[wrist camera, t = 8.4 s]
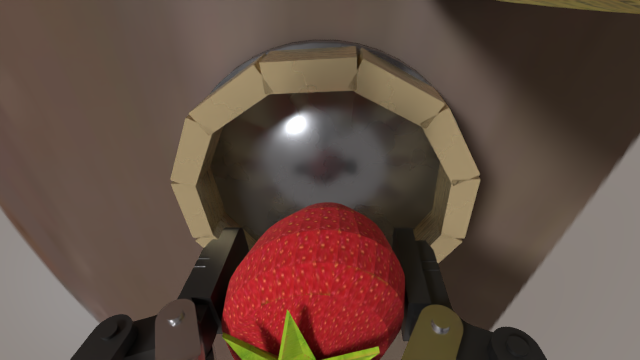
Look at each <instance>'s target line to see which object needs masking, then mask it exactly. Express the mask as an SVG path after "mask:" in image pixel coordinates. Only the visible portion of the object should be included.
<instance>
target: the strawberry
mask: <svg viewBox="0 0 640 360" xmlns="http://www.w3.org/2000/svg"><path fill="white" fill-rule="evenodd" d="M404 304H405V274H404V272H403V269H402V267H401V265H400V262H399V260H398V259H397V257H396V255H395V253H394V252H393V250H392V248H391V246H390V244H389V243H388V241H387V239H386V237H385V236H384V234H383V232H382V231H381V230H380V228H379V227H378V226H377V225H376V223H374V222H373V221H371V220H370V219H369V218H367V217H366V216H364V215H362V214H361V213H359V212H357V211H355V210H353V209H351V208H349V207H347V206H345V205H342V204H339V203H334V202H323V203H317V204H313V205H310V206H307V207H305V208H303V209H301V210H299V211H297V212H295V213H293V214H291V215H289V216H288V217H286V218H284V219H282V220H280V221H278V222H277V223H275V224H274V225H273V226H271V227H270V228H269V229H268V230H267V231H266V232H265V233H264V234H263V235H262V236H261V237H260V238H259V240H258V241H257V242H256V243H255V245H254V246H253V247H252V249H251V250H250V251H249V253H248V254H247V255H246V256H245V258H244V259H243V260H242V262H241V263H240V264H239V266H238V267H237V268H236V270H235V272H234V274H233V275H232V277H231V279H230V281H229V285H228V288H227V292H226V298H225V303H224V308H223V314H222V332H223V336H222V337H223V338H224V340H225V341H226V343H227V345H228V348H229V350H230V352H231V354H232V356H233V358H234V359H235V360H379V359H380V358H381V357H382V356H383V355H384V353H385V352H386V351H387V349H388V348H389V346H390V345H391V344H392V342H393V341H394V339H395V338H396V336H397V334H398V333H399V331H400V329H401V326H402V322H403V319H404Z"/></svg>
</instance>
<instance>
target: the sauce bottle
mask: <svg viewBox="0 0 640 360" xmlns="http://www.w3.org/2000/svg"><path fill="white" fill-rule="evenodd" d="M498 1H505V2H513V3H523V4H533V5H542V6H551V7H561V8H572V9H584V10H595V11H607V12H621V13H634V14H640V0H498Z"/></svg>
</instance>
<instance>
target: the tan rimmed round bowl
mask: <svg viewBox="0 0 640 360" xmlns="http://www.w3.org/2000/svg"><path fill="white" fill-rule="evenodd" d="M478 175H480V173H479V171H478V169H477V167H476V164H475V162H474V160H473V158H472V156H471V154H470V151H469V149H468V147H467V145H466V143H465V141H464V138H463V136H462V134H461V132H460V130H459V127H458V124H457V122H456V120H455V118H454V116H453V114H452V113H451V110H450V108H449V107H448V105H447V104H446V103H445V101H444V100H443V99H442V97H441V96H440V95H439V93H438V92H437V91H436V90H435V89H434V87H433V86H432V85H431V84H430V83H429V82H428V81H427V80H426V79H425V78H424V77H423V76H421V75H420V74H419V73H418V72H417V71H416V70H414V69H413V68H411V67H410V66H408V65H407V64H405V63H404V62H402V61H401V60H399V59H398V58H396V57H393V56H391V55H389V54H387V53H385V52H383V51H381V50H378V49H375V48H372V47H368V46H365V45H362V44H358V43H352V42H346V41H339V40H308V41H301V42H293V43H289V44H286V45H282V46H278V47H275V48H272V49H269V50H267V51H265V52H263V53H260V54H258V55H256V56H254V57H252V58H251V59H249V60H247V61H246V62H244V63H243V64H241V65H240V66H238V67H237V68H236V69H234V70H233V71H232V72H231V73H230V74H229V75H228V76H227V77H226V78H224V79H223V80H222V81H221V82H220V83H219V84H218V85H217V86H216V87H215V88H214V90H213V91H212V92H211V93H210V95H209V96H207V97H206V98H205V99H204V100H203V101H202V102H201V103H200V104H198V105H197V106H196V107H195V108H194V109H193V110H192V111H191V112H190V113H189V115H188V116H187V117H186V119H185V123H184V127H183V131H182V135H181V139H180V143H179V147H178V151H177V155H176V159H175V163H174V167H173V171H172V175H171V179H170V180H172V181H173V182H172V183H171V186H172V188H173V191H174V193H175V195H176V198H177V200H178V203H179V205H180V208H181V210H182V212H183V215H184V217H185V220H186V222H187V225H188V227H189V229H190V232H191V234H192V237H197V238H196V240H195V241H196V242H197V243H199V244H200V245H201V246H202V247H203V248H204V247H205V246H206V245H207V244H208V243H209V242H210V241H211V240H212V239H219V237H220V235H221V233H222V231H223V229H224V228H226V227H241V228H243V230H244V233H245V237H246V240H247V244H248V247H249V251H250V250H251V249H252V247H253V246H254V245H255V243H256V242H257V241H258V240H259V238H260V237H261V236H262V235H263V234H264V233H265V232H266V231H267V230H268V229H269V228H270V227H271V226H273V225H274V224H275V223H277V222H278V221H280V220H282V219H284V218H286V217H288V216H289V215H291V214H293V213H295V212H297V211H299V210H301V209H303V208H305V207H307V206H310V205H313V204H317V203H323V202H334V203H339V204H342V205H345V206H347V207H349V208H351V209H353V210H355V211H357V212H359V213H361V214H362V215H364V216H366V217H367V218H369V219H370V220H371V221H373V222H374V223H376V225H377V226H378V227H379V228H380V230H381V231H382V232H383V234H384V236H385V237H386V239H387V241H388V243H389V244H390V246H391V248H392V241H393V230H394V228H412V229H413V232H414V236H415V240H426V242H427V243H428V244H429V245H430V246H431V247H432V249H433V250H434V253H435V256H436V259H437V263H439V262H441V261H442V260H443V259H444V258H445V257H446V256H447V255H448V254H449V253H451V252H452V251H453V250H454V249H455V248H456V247H457V246H458V245H459V244H461V243H462V239H461V238H465V236H466V232H467V228H468V224H469V221H470V217H471V213H472V209H473V206H474V202H475V198H476V194H477V191H478V187H479V183H480V180H481V179H480V178H479V176H478Z"/></svg>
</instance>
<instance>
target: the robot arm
mask: <svg viewBox="0 0 640 360" xmlns="http://www.w3.org/2000/svg"><path fill="white" fill-rule="evenodd" d="M392 250H393V252H394V253H395V255H396V257H397V259H398V260H399V262H400V265H401V267H402V269H403V272H404V274H405V304H404V319H403V322H402V326H401V330H402V337H403V341H409V342H408V344H407V347H406V349H405V351H404V354H403V356H402V359H401V360H547V359H546V357H545V355H544V354H543V352H542V350H541V349H540V347H539V346H538V344H537V343H536V342H535V341H534V340H533V339H532V338H531V337H530V336H529V335H527V334H526V333H525V332H523V331H521V330H519V329H516V328H512V327H501V328H498V329H496V330H495V331H494V332H490V331H487V330H484V329H481V328H478V327H475V326H472V325H470V324H468V323H466V322H465V321H463V320H462V319H461V318H460V317H459V316H458V315H457V314H456V313H455V312H454V311H453V309H452V307H451V305H450V302H449V298H448V295H447V292H446V289H445V285H444V282H443V279H442V276H441V272H440V269H439V266H438V263H437V259H436V256H435V253H434V250H433V249H432V247H431V246H430V245H429V244H428V243H427V242H426V240H415V236H414V232H413V229H412V228H394V230H393V241H392ZM248 253H249V247H248V244H247V240H246V237H245V233H244V230H243V228H241V227H226V228H224V229H223V231H222V233H221V235H220V237H219V239H212V240H211V241H210V242H209V243H208V244H207V245H206V246H205V247H204V248H203V250H202V252H201V254H200V256H199V260H197V262H196V264H195V267H194V268H193V270H192V272H191V274H190V276H189V278H188V279H187V281H186V283H185V285H184V287H183V289H182V291H181V293H180V295H179V297H178V299H177V300H174V301H172V302H170V303H169V304H167V305H166V306H164V307H163V308H162V309H161V311H160V312H159V313H158V315H155V316H152V317H149V318H145V319H141V320H138V321H134V322H133V321H132V319H131V318H130V317H129V316H127V315H124V314H120V315H115V316H112V317H110V318H108V319H106V320H104V321H103V322H101V323H100V324H99V325H98V326H97V327H96V328H95V329H94V330H93V332H92V333H91V334H90V335H89V336H88V338H87V339H86V340H85V342H84V343H83V344H82V345H81V347H80V348H79V349H78V350H77V352H76V353H75V354H74V355H73V357H72V358H71V360H217V358H216V352H215V347H214V344H213V342H214V339H215V336H216V334H223V332H222V314H223V308H224V303H225V298H226V292H227V288H228V285H229V281H230V279H231V277H232V275H233V274H234V272H235V270H236V268H237V267H238V266H239V264H240V263H241V262H242V260H243V259H244V258H245V256H246V255H247V254H248Z"/></svg>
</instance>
